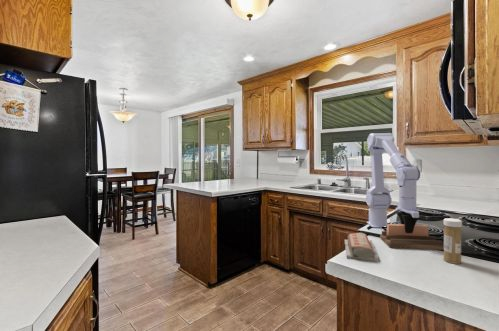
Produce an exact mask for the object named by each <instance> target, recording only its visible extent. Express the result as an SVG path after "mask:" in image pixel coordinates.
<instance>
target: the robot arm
mask: <svg viewBox="0 0 499 331" xmlns="http://www.w3.org/2000/svg"><path fill="white" fill-rule="evenodd" d="M366 144H367V151H368V152H369V153H370V166H371V167H370V168H371V170H370V171H371V184H372V185H371V187H370V188H369V189H367V190H366V196H365V202H366V204H367V206H368V207H369V208H368V221H366V223H367V224H368V225H369V226H370V227H372V228H381V229H383V228H382V227H384V226H387V224H388V208H389V207H390V206H391V205H392V200H393V199H392V196H391V194H390V192H391V191H390V190H389V188H387V187H385V178H384V176H385V175H384V164H383V153H384V152H386V153H387V154H388V155H389V156H390V159H389V161H390V164H391V165H392V166H393V168H394V170H395V178H396V180H397V185H398V204H397V207H395V210H396V211H397V212H396V215H397V216H398V220H399V221H400V224H404V225H405V231H406V233H413V230H414V226H415V225H417V222H418V220H419V219H420V212H419V211H418V209H417V182H418V181H419V179H420V178H421V170H420V168H419V166H417V165H414V164H412V163H411V162H410V161H409V159H408V158H407V157H406V154H404V153H402V152H400V151H399V150H398V148H397V146H396V144H395V137H394V135H393V134H392V132H385V133H383V132H382V133H377V132H376V133H375V132H374V133H373V132H372V133H369V135H368V136H367V139H366Z"/></svg>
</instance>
